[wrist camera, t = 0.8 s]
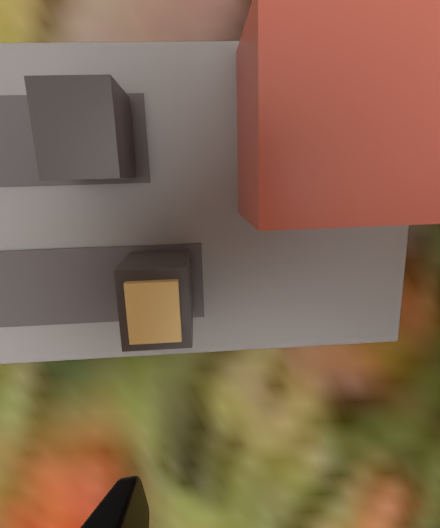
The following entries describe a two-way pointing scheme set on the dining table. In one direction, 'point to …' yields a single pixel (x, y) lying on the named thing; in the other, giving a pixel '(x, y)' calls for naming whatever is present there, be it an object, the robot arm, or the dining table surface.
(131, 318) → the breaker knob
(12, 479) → the dining table surface
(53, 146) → the block
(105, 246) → the breaker panel
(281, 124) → the cap
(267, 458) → the dining table surface
